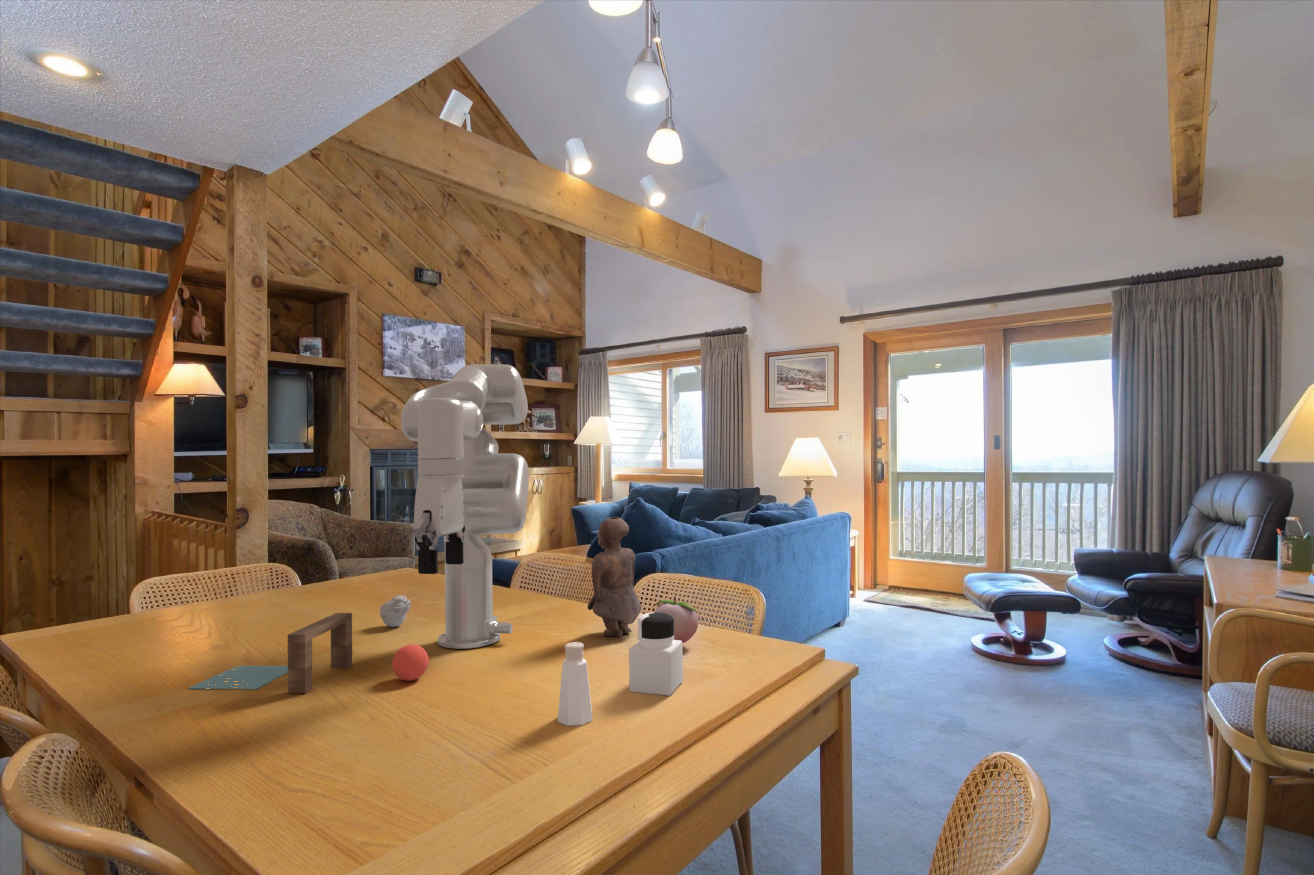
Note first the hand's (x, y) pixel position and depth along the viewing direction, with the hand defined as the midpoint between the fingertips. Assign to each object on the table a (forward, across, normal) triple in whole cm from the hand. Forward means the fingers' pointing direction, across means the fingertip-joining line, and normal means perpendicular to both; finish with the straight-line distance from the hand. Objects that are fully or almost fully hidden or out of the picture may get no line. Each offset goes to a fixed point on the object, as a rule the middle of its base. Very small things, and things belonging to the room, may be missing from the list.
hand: (441, 568), depth 119 cm
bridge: (+19, +1, -22) cm, 29 cm away
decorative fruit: (+20, -25, +37) cm, 49 cm away
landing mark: (+19, +2, -36) cm, 41 cm away
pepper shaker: (+20, +13, +27) cm, 36 cm away
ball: (+16, 0, -6) cm, 17 cm away
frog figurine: (+19, -34, -28) cm, 48 cm away
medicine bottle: (+20, -2, +37) cm, 42 cm away
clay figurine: (+19, -33, +23) cm, 45 cm away
